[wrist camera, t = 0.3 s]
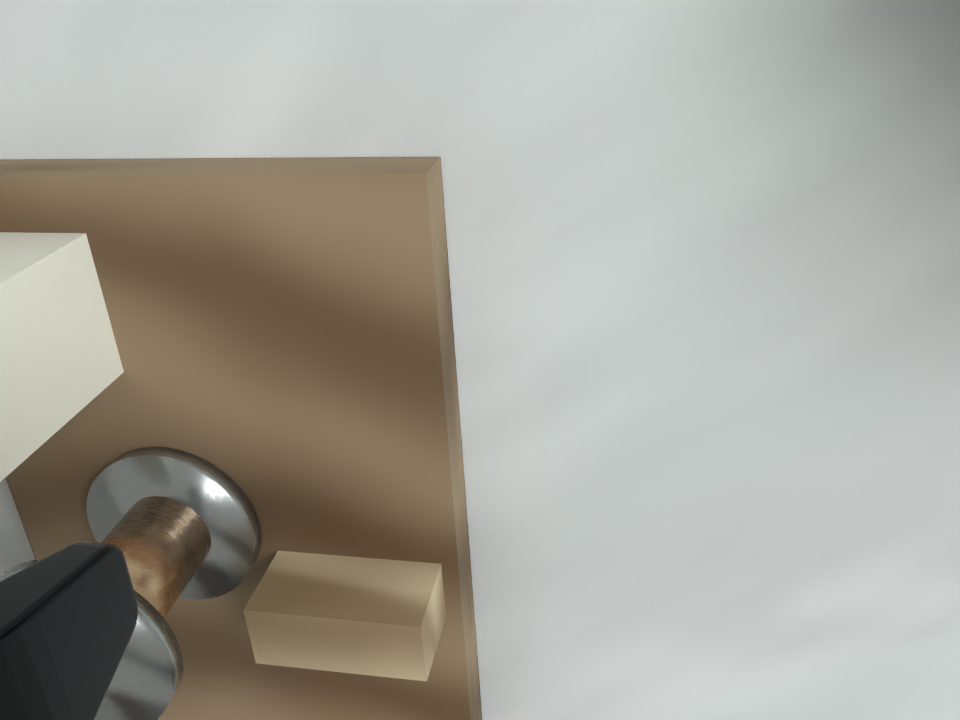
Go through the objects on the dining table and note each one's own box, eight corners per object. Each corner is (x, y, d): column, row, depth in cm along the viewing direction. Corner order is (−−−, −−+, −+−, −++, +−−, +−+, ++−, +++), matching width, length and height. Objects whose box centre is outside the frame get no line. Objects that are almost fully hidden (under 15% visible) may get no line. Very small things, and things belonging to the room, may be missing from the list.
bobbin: (274, 592, 27) (191, 743, 22) (121, 579, 28) (10, 720, 23) (244, 451, 25) (144, 586, 20) (78, 441, 25) (-56, 567, 21)
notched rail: (462, 784, 30) (446, 855, 27) (321, 766, 30) (295, 833, 28) (441, 563, 25) (421, 626, 23) (277, 550, 26) (243, 610, 24)
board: (484, 748, 31) (476, 786, 29) (123, 705, 33) (101, 738, 32) (440, 156, 21) (426, 173, 20) (-63, 160, 24) (-106, 175, 22)
